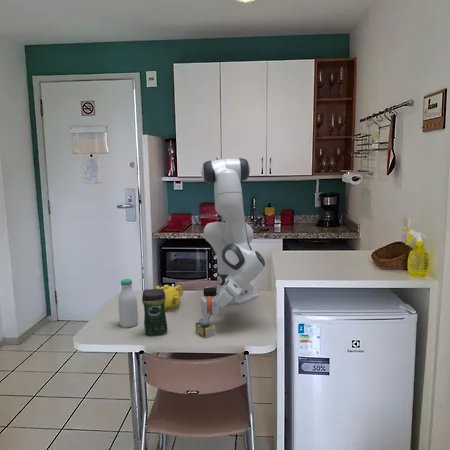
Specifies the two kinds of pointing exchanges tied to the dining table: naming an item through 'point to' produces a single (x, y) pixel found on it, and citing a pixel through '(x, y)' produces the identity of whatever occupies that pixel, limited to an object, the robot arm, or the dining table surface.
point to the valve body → (204, 330)
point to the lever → (209, 312)
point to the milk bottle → (127, 305)
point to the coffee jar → (154, 312)
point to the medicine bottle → (213, 293)
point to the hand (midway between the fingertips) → (213, 305)
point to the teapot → (171, 296)
